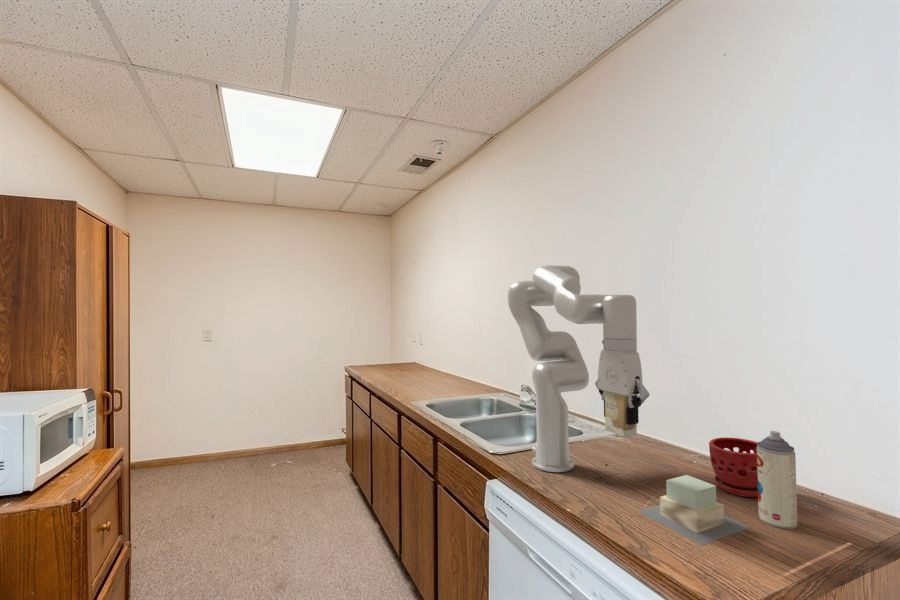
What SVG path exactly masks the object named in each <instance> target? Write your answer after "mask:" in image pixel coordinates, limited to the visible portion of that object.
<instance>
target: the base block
mask: <svg viewBox="0 0 900 600" xmlns="http://www.w3.org/2000/svg"><path fill="white" fill-rule="evenodd" d="M659 504H660V515H662V516H664V517H666V518H668V519H670V520H672V521H674V522H676V523H678V524H680V525H682V526H684V527H686V528H688V529H690V530H692V531H694V532H696V533H699V532H702V531H704V530H707V529H710V528H713V527H716V526H718V525H721V524H724V516H725V505H724V504H722V503H721V502H717V501H716V504H715V505H712V506H709V507H706V508H703V509H700V510H696V511H695V510H693V509H691V508H688V507H686V506H684V505H682V504H679V503H677V502H675V501H673V500H670V499H668V498H667V494H665V495H662V496H659Z"/></svg>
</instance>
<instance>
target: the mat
mask: <svg viewBox="0 0 900 600" xmlns="http://www.w3.org/2000/svg"><path fill="white" fill-rule="evenodd" d="M636 512H637V513H639V514H641V515H643V516H644V517H647V518H649V519H650V520H652V521H654V522H656V523H659V524H661V525H662V526H664V527H666V528H668V529H670V530H672V531H673V532H675V533H677V534H679V535H682V536H683V537H685V538H687V539H689V540H691V541H692V542H695V543H696V544H699V545H700V546H705V545H708V544H711V543H714V542H716V541H718V540H721V539H723V538H726V537H729V536H732V535H733V534H736V533H740V532H742V531H745V530H748V529H750V528H751V526H749V525H747V524H745V523H742V522H740V521H738V520H736V519H733V518H731V517H729V516H726V515H724V524H721V525H718V526H716V527H713V528H710V529H707V530H704V531H702V532H699V533H696V532H694V531H692V530H690V529H688V528H686V527H684V526H682V525H680V524H678V523H676V522H674V521H672V520H670V519H668V518H666V517H664V516H662V515H660V503H659V504H656V505H653V506H650V507H646V508H643V509H640V510H637V511H636Z"/></svg>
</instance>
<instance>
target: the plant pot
mask: <svg viewBox="0 0 900 600" xmlns="http://www.w3.org/2000/svg"><path fill="white" fill-rule="evenodd" d="M758 442H759V441H754V440H751V439H750V440H749V439H745V438H739V437H716V438H713V439H711V440H710V441H709V442H708V448H709V457H710V458H709V459H710V462H711V466H712V469H713V472H714V474H715V476H714V478H713V479H714V483H715V485H716V486H718V488H720V489H722V490H724V492H727V493H730V494H733V495H736V496H741V497H747V498H748V497H749V498H750V497H751V498H755V497H756V498H758V476H757V445H758V444H757V443H758ZM734 448H737V449H738V451H735V450H734ZM727 449H728V450H727ZM751 451H752V452H753V453H752V452H751Z"/></svg>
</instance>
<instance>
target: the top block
mask: <svg viewBox="0 0 900 600" xmlns="http://www.w3.org/2000/svg"><path fill="white" fill-rule="evenodd" d="M665 484H666V485H665V486H666V487H665V488H666V492H665V493H666V495H667V498H668V499H670V500H673V501H675V502H677V503H679V504H682V505H684V506H686V507H688V508H691V509H693V510H695V511H696V510H700V509H703V508H706V507H709V506H712V505H715V504H716V502H717V485H716V484H715V485H714V484H712V483H709V482H707V481H704V480H702V479H698V478H696V477H694V476H691V475H689V474H685V475H681V476H678V477H673V478H668V479H667V480H665Z"/></svg>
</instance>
